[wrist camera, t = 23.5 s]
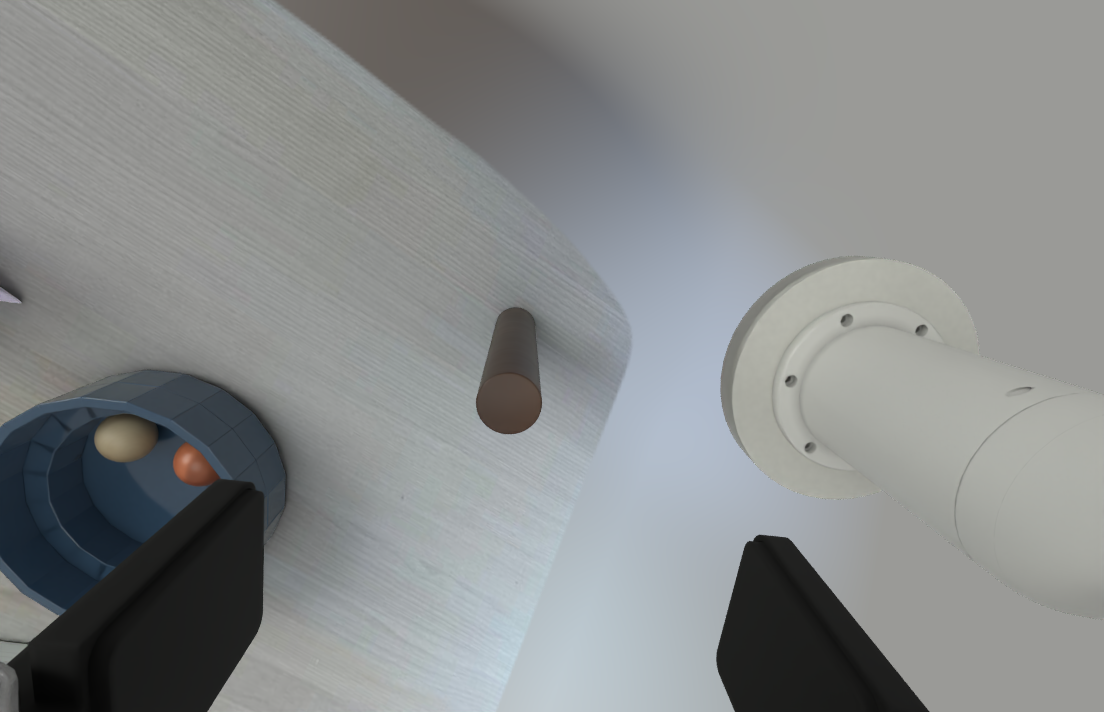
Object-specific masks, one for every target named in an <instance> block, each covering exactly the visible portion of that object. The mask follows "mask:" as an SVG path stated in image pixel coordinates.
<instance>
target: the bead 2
mask: <svg viewBox="0 0 1104 712" xmlns="http://www.w3.org/2000/svg"><path fill="white" fill-rule="evenodd" d="M173 468H174V471H175V474H176V475H177V477H178V478H179V479H180V480H181V481H183V482H184V483H186V484H188V485H192V486H208V485H211V484H212V483H214V482H215V481H216V480H218V479H221V478H220V477H219V476H218V474H217V473H216V472H215V470H214V469H213V468H212V467H211V465H210V464H209V463H208V461H207V460H206V459H205V458H204V456H203V455H202V454H201V452H199V451H198V450H197V449H195V448H194V447H193V446H191V445H190V444H189V443H187V442H185V443H184V444H182V445H181V446H180V448H179V449H178V450H177V452H176V453H175V456H174V460H173Z"/></svg>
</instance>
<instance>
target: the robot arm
mask: <svg viewBox="0 0 1104 712" xmlns="http://www.w3.org/2000/svg"><path fill="white" fill-rule="evenodd" d="M842 316H843V317H842ZM841 318H842V320H841ZM787 377H788V379H787V380H786V378H787ZM772 401H773V411H774V415H775V418H776V421H777V424H778V426H779V428H780V430H781V432H782V434H783V435H784V437H785V438H786V440H787V441H788V442H789V443H790V444H791V445H792V446H793V447H794V448H795V449H796V450H797V451H798V452H799V453H800V454H802V455H803V456H804V457H806V458H807V459H809V460H811V461H813V462H814V463H816V464H818V465H821V466H824V467H827V468H830V469H836V470H844V471H853V470H857V471H858V472H860V473H861V474H862V475H863V476H865V477H866V478H867V479H869V480H870V481H871V482H872V483H874V484H875V485H876V486H878V487H879V488H880V489H881V490H883V491H884V492H885V493H886V494H888V495H889V496H890V497H892V498H893V499H894V500H895V501H897V502H898V503H899V504H901V505H902V506H903V507H904V508H906V509H907V510H908V511H910V512H911V513H912V514H913V515H915V516H916V517H917V518H919V519H920V520H921V521H922V522H924V523H925V524H926V525H928V526H929V527H930V528H931V529H933V530H934V531H935V532H936V533H938V534H939V535H940V536H942V537H943V538H944V539H945V540H947V541H948V542H949V543H951V544H952V545H953V546H954V547H956V548H957V549H958V550H960V551H961V552H962V553H963V554H965V555H966V556H967V557H969V558H970V559H971V560H972V561H974V562H975V563H976V564H978V565H979V566H980V567H982V568H983V569H984V570H986V571H987V572H988V573H990V574H991V575H992V576H994V577H995V578H996V579H997V580H999V581H1000V582H1001V583H1003V584H1004V585H1006V586H1007V587H1009V588H1010V589H1012V590H1013V591H1015V592H1017V593H1018V594H1020V595H1022V596H1024V597H1026V598H1028V599H1030V600H1031V601H1033V602H1036V603H1038V604H1040V605H1043V606H1046V607H1048V608H1051V609H1054V610H1057V611H1060V612H1063V613H1067V614H1072V615H1077V616H1082V617H1088V618H1093V619H1100V620H1104V394H1101V393H1098V392H1095V391H1092V390H1088V389H1085V388H1082V387H1079V386H1076V385H1072V384H1069V383H1066V382H1063V381H1060V380H1057V379H1054V378H1050V377H1047V376H1044V375H1041V374H1038V373H1035V372H1031V371H1028V370H1025V369H1022V368H1019V367H1016V366H1012V365H1009V364H1006V363H1003V362H999V361H997V360H993V359H990V358H987V357H984V356H981V355H978V354H974V353H971V352H968V351H965V350H962V349H959V348H955V347H952V346H949V345H946V344H944V342H943V339H942V337H941V336H940V334H939V333H938V332H937V330H936V329H935V328H934V326H933V325H932V324H931V323H930V322H929V321H927V320H926V319H925V318H924V317H922V316H921V315H920V314H918V313H916V312H914V311H912V310H910V309H908V308H906V307H902V306H899V305H895V304H892V303H886V302H879V301H864V302H855V303H851V304H847V305H843V306H840V307H838V308H835V309H833V310H831V311H829V312H826V313H824V314H823V315H821V316H820V317H818V318H817V319H815V320H814V321H812V322H811V323H809V324H808V325H807V326H806V327H805V328H804V329H803V330H802V331H801V332H800V333H799V334H798V335H797V336H796V337H795V339H794V340H793V341H792V342H791V344H790V345H789V346H788V348H787V349H786V351H785V353H784V355H783V357H782V359H781V361H780V363H779V365H778V368H777V371H776V375H775V378H774V383H773V392H772ZM263 565H264V494H263V492H262V491H256V488H255V485H254V484H253V483H252V482H247V481H237V480H227V479H218V480H216V481H215V482H214V483H212V484H211V485H210V486H209V487H208V488H207V489H206V490H204V491H203V492H202V493H201V494H200V495H199V496H197V497H196V498H195V499H194V500H193V501H192V502H191V503H189V504H188V505H187V506H186V507H185V508H184V509H182V510H181V511H180V512H179V513H178V514H177V515H176V516H174V517H173V518H172V519H171V520H170V521H169V522H168V523H166V524H165V525H164V526H163V527H162V528H161V529H159V530H158V531H157V532H156V533H155V534H154V535H153V536H151V537H150V538H149V539H148V540H147V541H146V542H145V543H143V544H142V545H141V546H140V547H139V548H138V549H136V550H135V551H134V552H133V553H132V554H131V555H130V556H128V557H127V558H126V559H125V560H124V561H123V562H122V563H120V564H119V565H118V566H117V567H116V568H115V569H113V570H112V571H111V572H110V573H109V574H108V575H107V576H105V577H104V578H103V579H102V580H101V581H100V582H99V583H97V584H96V585H95V586H94V587H93V588H92V589H90V590H89V591H88V592H87V593H86V594H85V595H84V596H82V597H81V598H80V599H79V600H78V601H77V602H76V603H74V604H73V605H72V606H71V607H70V608H69V609H67V610H66V611H65V612H64V613H63V614H62V615H61V616H59V617H58V618H57V619H56V620H55V621H54V622H52V623H51V624H50V625H49V626H48V627H47V628H46V629H44V630H43V631H42V632H41V633H40V634H39V635H38V636H36V637H35V638H34V639H33V640H32V641H31V642H29V643H28V646H27V647H26V648H25V649H23V650H22V651H21V652H20V653H19V654H18V655H16V656H15V657H14V658H13V659H12V660H11V661H10V662H8V663H7V664H5V663H3V662H0V712H207V711H208V710H209V708H210V707H211V705H212V703H213V702H214V700H215V699H216V697H217V695H218V694H219V692H220V691H221V689H222V688H223V686H224V684H225V683H226V681H227V680H228V678H229V677H230V675H231V673H232V672H233V670H234V669H235V667H236V666H237V664H238V662H239V661H240V659H241V658H242V656H243V655H244V653H245V651H246V650H247V648H248V647H249V645H250V644H251V642H252V640H253V639H254V637H255V636H256V634H257V632H258V629H259V627H260V624H261V620H262V615H263ZM716 660H717V668H718V672H719V675H720V677H721V679H722V682H723V684H724V687H725V689H726V691H727V694H728V696H729V698H730V701H731V703H732V705H733V708H734V710H735V712H929V711H928V710H927V708H926V707H925V706H924V704H923V703H922V702H921V701H920V700H919V698H918V697H917V696H916V695H915V693H914V692H913V691H912V690H911V689H910V687H909V686H908V685H907V683H906V682H905V681H904V680H903V678H902V677H901V676H900V675H899V674H898V672H897V671H896V670H895V669H894V668H893V666H892V665H891V664H890V662H889V661H888V660H887V659H886V657H885V656H884V655H883V654H882V653H881V651H880V650H879V649H878V648H877V646H876V645H875V644H874V643H873V641H872V640H871V639H870V638H869V637H868V635H867V634H866V633H865V631H864V630H863V629H862V628H861V627H860V625H859V624H858V623H857V622H856V621H855V619H854V618H853V617H852V615H851V614H850V613H849V612H848V610H847V609H846V608H845V607H844V606H843V604H842V603H841V602H840V601H839V599H838V598H837V597H836V596H835V594H834V593H833V592H832V591H831V589H830V588H829V587H828V586H827V584H826V583H825V582H824V581H823V580H822V578H821V577H820V576H819V575H818V574H817V572H816V571H815V570H814V568H813V567H812V566H811V565H810V564H809V562H808V561H807V560H806V559H805V557H804V556H803V555H802V554H801V553H800V551H799V550H798V549H797V547H796V546H795V545H794V544H793V542H792V541H791V540H789V539H788V538H785V537H776V536H767V535H758V536H756V537H755V538H754V540H753V541H749V542H747V543H746V545H745V548H744V551H743V555H742V559H741V562H740V566H739V570H738V574H737V577H736V581H735V585H734V589H733V593H732V597H731V600H730V604H729V608H728V612H727V615H726V619H725V623H724V627H723V630H722V634H721V638H720V642H719V646H718V649H717V657H716Z"/></svg>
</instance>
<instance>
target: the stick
mask: <svg viewBox="0 0 1104 712" xmlns="http://www.w3.org/2000/svg"><path fill="white" fill-rule="evenodd" d="M476 408H477V412H478V415H479V417H480V419H481V420H482V421H483V423H484V424H485V425H486V426H487V427H489V428H490V429H492V430H494V431H496V432H499V433H502V434H516V433H520V432H522V431H525V430H526V429H528V428H529V427H531V426H532V425H533V424H534V423H535V422H536V420H537V419H538V417H539V415H540V412H541V408H542V397H541V386H540V375H539V363H538V352H537V341H536V329H535V322H534V319H533V317H532V316H531V314H530V313H529V312H527V311H526V310H524V309H522V308H517V307H514V308H509V309H507V310H505V311H503V312H502V313H501V314H500V315H499V317H498V319H497V321H496V325H495V329H494V333H493V336H492V340H491V344H490V348H489V352H488V356H487V359H486V363H485V367H484V371H483V375H482V379H481V382H480V386H479V390H478V394H477V398H476Z"/></svg>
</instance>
